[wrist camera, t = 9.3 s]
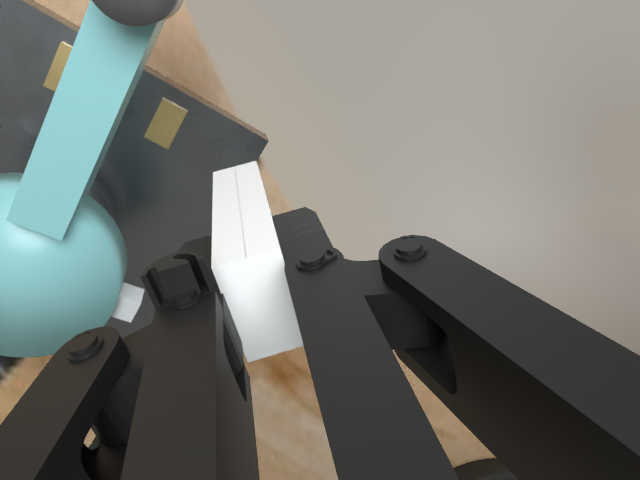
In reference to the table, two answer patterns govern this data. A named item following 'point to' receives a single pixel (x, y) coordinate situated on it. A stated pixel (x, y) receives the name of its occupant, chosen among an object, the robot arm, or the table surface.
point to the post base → (124, 144)
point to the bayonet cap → (74, 191)
